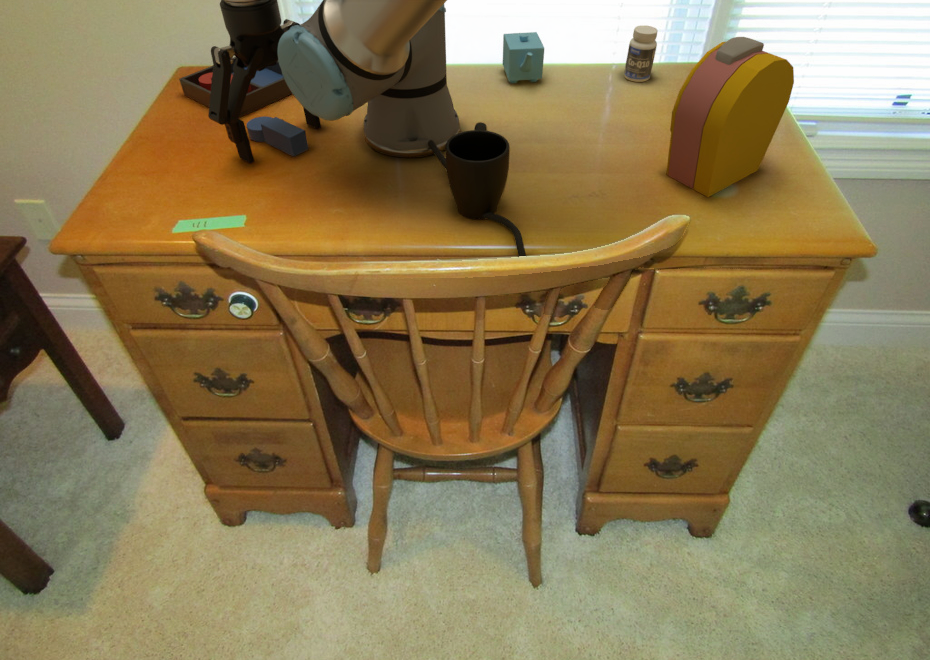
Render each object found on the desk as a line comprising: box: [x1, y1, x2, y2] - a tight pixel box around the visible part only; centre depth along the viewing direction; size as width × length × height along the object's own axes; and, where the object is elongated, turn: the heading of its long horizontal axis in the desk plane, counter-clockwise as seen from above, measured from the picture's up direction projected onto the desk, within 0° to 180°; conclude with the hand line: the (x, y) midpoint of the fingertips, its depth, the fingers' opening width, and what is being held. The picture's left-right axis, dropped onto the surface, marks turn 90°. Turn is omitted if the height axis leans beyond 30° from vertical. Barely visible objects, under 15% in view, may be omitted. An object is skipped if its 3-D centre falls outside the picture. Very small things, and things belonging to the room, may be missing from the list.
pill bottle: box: [623, 24, 658, 83], centre depth 112 cm, size 5×5×8 cm
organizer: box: [178, 56, 293, 119], centre depth 112 cm, size 15×16×3 cm
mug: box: [444, 121, 511, 221], centre depth 85 cm, size 8×12×10 cm
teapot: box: [502, 31, 545, 84], centre depth 113 cm, size 12×6×8 cm, turn 6°
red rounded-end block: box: [199, 72, 252, 93], centre depth 109 cm, size 12×5×3 cm, turn 51°
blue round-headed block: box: [246, 115, 310, 158], centre depth 99 cm, size 12×5×3 cm, turn 51°
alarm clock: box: [665, 36, 795, 198], centre depth 86 cm, size 15×8×18 cm, turn 127°
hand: (281, 142), depth 100 cm, fingers open, 13 cm apart
